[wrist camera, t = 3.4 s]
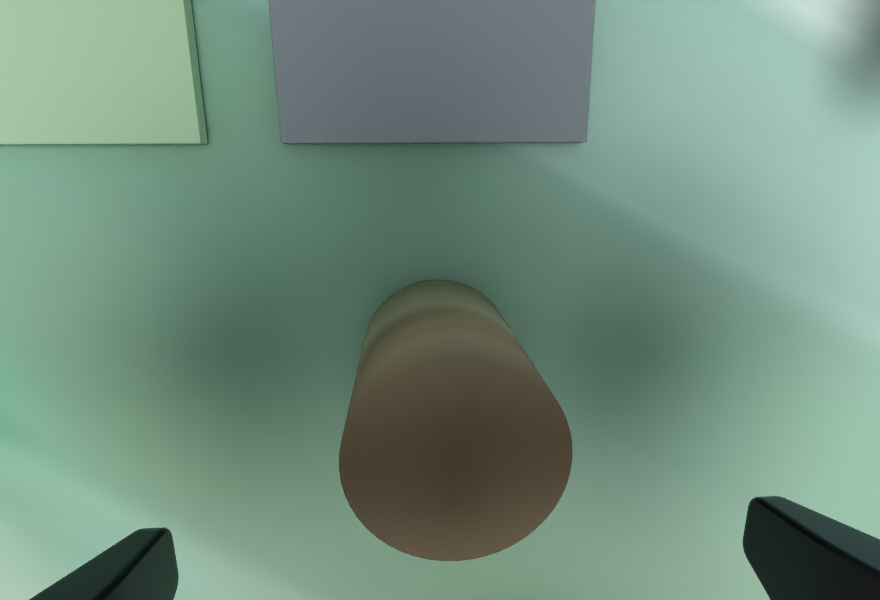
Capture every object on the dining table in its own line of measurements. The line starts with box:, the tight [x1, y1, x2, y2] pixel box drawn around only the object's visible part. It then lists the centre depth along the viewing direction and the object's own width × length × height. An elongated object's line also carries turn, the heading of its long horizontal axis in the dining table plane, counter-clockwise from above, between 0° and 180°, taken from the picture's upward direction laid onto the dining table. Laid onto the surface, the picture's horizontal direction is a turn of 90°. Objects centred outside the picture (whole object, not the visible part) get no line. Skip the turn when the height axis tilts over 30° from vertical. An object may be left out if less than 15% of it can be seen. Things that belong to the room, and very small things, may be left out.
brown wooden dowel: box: [339, 280, 572, 561], centre depth 12 cm, size 4×4×6 cm
